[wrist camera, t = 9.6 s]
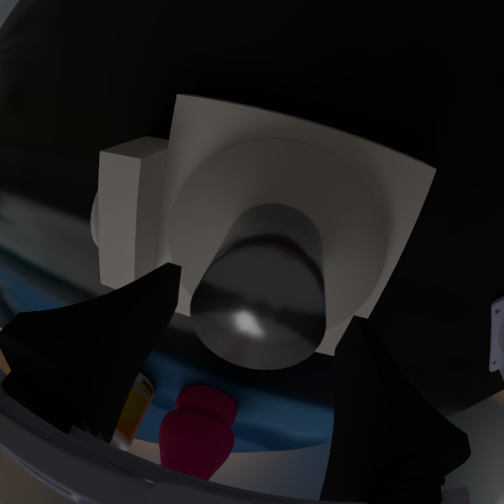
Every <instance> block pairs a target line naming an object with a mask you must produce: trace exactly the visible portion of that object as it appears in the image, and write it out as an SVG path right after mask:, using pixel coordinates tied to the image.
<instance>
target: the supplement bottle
mask: <svg viewBox="0 0 504 504" xmlns="http://www.w3.org/2000/svg"><path fill="white" fill-rule="evenodd" d="M154 394H155V390H154V387H153V385H152V383H151V382H150V380H149V379H148V378H147V377H146V376H145V375H143V374H142V373H140V372H139V374H138V376H137V378H136V380H135V382H134V385H133V387H132V389H131V391H130V394H129V396H128V398H127V401H126V403H125V405H124V408H123V410H122V413H121V415H120V418H119V421H118V423H117V426H116V429H115V432H114V435H113V437H112V440H111V443H110V444H111V445H113V446H115V447H117V448H119V449H122V450H124V451H126V450H127V449H129V447H130V446H131V444H132V441H133V439H134V437H135V435H136V433H137V431H138V429H139V427H140V425H141V422H142V420H143V418H144V416H145V414H146V412H147V410H148V408H149V405H150V403H151V401H152V399H153V397H154Z"/></svg>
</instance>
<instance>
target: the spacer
mask: <svg viewBox="0 0 504 504" xmlns="http://www.w3.org/2000/svg"><path fill="white" fill-rule="evenodd" d="M190 318H191V322H192V325H193V327H194V330H195V331H196V333H197V335H198V337H199V338H200V339H201V341H202V342H203V343H204V344H205V345H206V346H207V347H208V348H209V349H210V350H211V351H213V352H214V353H215V354H217V355H218V356H220V357H221V358H223V359H225V360H227V361H229V362H231V363H233V364H236V365H239V366H243V367H247V368H252V369H260V370H273V369H281V368H285V367H289V366H292V365H295V364H297V363H299V362H301V361H303V360H305V359H306V358H308V357H309V356H310V355H311V354H313V352H314V351H315V350H316V349H317V348H318V347H319V345H320V344H321V342H322V340H323V338H324V335H325V331H326V300H325V281H324V265H323V250H322V241H321V237H320V234H319V232H318V229H317V228H316V226H315V224H314V223H313V222H312V221H311V220H310V219H309V218H308V217H307V216H306V215H305V214H304V213H302V212H301V211H299V210H297V209H295V208H293V207H290V206H287V205H283V204H277V203H268V204H261V205H258V206H255V207H252V208H250V209H248V210H247V211H245V212H244V213H242V214H241V215H240V216H239V217H238V218H237V219H236V220H235V222H234V223H233V225H232V227H231V228H230V230H229V232H228V233H227V235H226V237H225V239H224V240H223V242H222V244H221V246H220V247H219V249H218V251H217V252H216V254H215V256H214V258H213V259H212V261H211V263H210V265H209V266H208V268H207V270H206V272H205V273H204V275H203V277H202V279H201V281H200V282H199V284H198V286H197V288H196V289H195V291H194V294H193V296H192V299H191V303H190Z"/></svg>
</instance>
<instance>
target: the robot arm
mask: <svg viewBox="0 0 504 504" xmlns="http://www.w3.org/2000/svg"><path fill="white" fill-rule="evenodd" d="M181 270H182V266H180V265H176V264H173V263H170V262H167V263H165V264H164V265H162V266H160V267H158V268H156V269H155V270H153V271H151V272H149V273H147V274H146V275H144V276H142V277H140V278H138V279H137V280H135V281H133V282H131V283H129V284H127V285H125V286H123V287H121V288H118V289H116V290H114V291H112V292H110V293H107V294H105V295H102V296H100V297H97V298H94V299H91V300H88V301H85V302H81V303H77V304H74V305H70V306H66V307H61V308H56V309H50V310H43V311H33V312H19V313H18V314H17V315H16V316H15V317H14V318H13V319H12V320H11V321H10V322H9V323H8V324H7V325H6V326H5V327H4V328H3V329H2V330H1V331H0V349H1V351H2V353H3V355H4V357H5V359H6V361H7V363H8V365H9V367H10V369H11V372H10V373H9V374H8V375H6V374H5V373H4V372H3V371H2V370H1V369H0V450H1V451H2V452H3V453H5V454H6V455H7V456H8V457H9V458H11V459H12V460H13V461H14V462H16V463H17V464H19V465H20V466H21V467H22V468H24V469H25V470H26V471H28V472H29V473H30V474H32V475H33V476H35V477H36V478H37V479H39V480H40V481H42V482H43V483H45V484H46V485H48V486H49V487H51V488H52V489H54V490H55V491H57V492H59V493H60V494H62V495H63V496H65V497H67V498H68V499H70V500H72V501H73V502H75V503H77V504H470V500H469V492H468V487H462V488H456V489H450V490H446V491H443V492H441V486H443V485H444V484H445V478H444V476H445V475H447V474H449V473H450V472H452V471H453V470H455V469H456V468H458V467H459V466H461V465H462V464H463V463H464V462H466V460H467V459H468V458H469V456H470V454H471V450H470V445H469V440H468V436H467V434H466V433H464V432H463V431H462V430H460V429H459V428H457V427H456V426H454V425H453V424H452V423H450V422H449V421H448V420H447V419H446V418H444V417H443V416H442V415H441V414H440V413H438V412H437V411H436V410H435V409H434V408H433V407H432V406H431V405H430V404H429V403H428V402H427V401H426V400H425V399H424V398H423V397H422V396H421V395H420V394H419V392H418V391H417V390H416V389H415V388H414V387H413V385H412V384H411V383H410V382H409V381H408V379H407V378H406V377H405V375H404V374H403V373H402V371H401V370H400V369H399V367H398V366H397V364H396V363H395V361H394V360H393V358H392V357H391V355H390V354H389V352H388V351H387V349H386V348H385V346H384V344H383V343H382V341H381V339H380V338H379V336H378V335H377V333H376V331H375V330H374V328H373V327H372V325H371V323H370V322H369V321H368V319H367V318H364V317H360V316H356V315H354V316H353V317H352V319H351V321H350V323H349V325H348V327H347V328H346V330H345V332H344V334H343V335H342V337H341V339H340V341H339V342H338V344H337V346H336V348H335V352H334V362H333V391H334V426H333V435H332V443H331V449H330V455H329V461H328V467H327V471H326V475H325V480H324V484H323V488H322V491H321V495H320V499H319V500H307V499H299V498H291V497H283V496H277V495H270V494H265V493H259V492H254V491H249V490H244V489H239V488H235V487H231V486H226V485H222V484H219V483H215V482H211V481H207V480H204V479H200V478H197V477H194V476H190V475H187V474H184V473H181V472H178V471H175V470H172V469H169V468H166V467H164V466H161V465H158V464H155V463H153V462H150V461H148V460H145V459H143V458H140V457H137V456H135V455H133V454H130V453H128V452H126V451H124V450H122V449H119V448H117V447H115V446H113V445H111V444H110V443H111V440H112V437H113V435H114V432H115V429H116V426H117V423H118V421H119V418H120V415H121V413H122V410H123V408H124V405H125V403H126V401H127V398H128V396H129V394H130V391H131V389H132V387H133V385H134V382H135V380H136V378H137V376H138V374H139V372H140V370H141V368H142V366H143V364H144V362H145V361H146V359H147V358H148V356H149V354H150V353H151V351H152V350H153V348H154V347H155V345H156V343H157V342H158V340H159V339H160V337H161V336H162V334H163V332H164V331H165V329H166V328H167V326H168V324H169V323H170V320H171V318H172V316H173V314H174V312H175V310H176V308H177V305H178V298H179V288H180V279H181ZM489 369H490V371H491V372H492V371H495V370H497V369H499V370H500V372H501V375H502V377H503V379H504V296H502V297H500V298H499V299H497V300H495V301H494V302H493V303H492V305H491V348H490V363H489Z"/></svg>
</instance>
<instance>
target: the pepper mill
mask: <svg viewBox="0 0 504 504" xmlns="http://www.w3.org/2000/svg"><path fill="white" fill-rule="evenodd" d="M175 408H176V410H173V411H171V412H169V413H168V414H167V415H166V416H165V417H164V418H163V420H162V423H161V426H160V430H159V448H160V459H161V466H164V467H166V468H169V469H172V470H175V471H178V472H181V473H184V474H187V475H190V476H194V477H197V478H200V479H204V480H207V481H208V480H209V479H210V477H211V476H212V475H213V474H214V473H215V472H216V471H217V470H218V469H219V468H220V467H221V465H222V464H223V463H224V462H225V461H226V459H227V458H228V456H229V455H230V453H231V451H232V448H233V445H234V439H235V438H234V434H233V432H232V430H231V428H230V427H231V426H232V425H233V424H234V421H235V417H236V414H237V405H236V403H235V401H234V400H233V399H232V398H231V397H230V396H229V395H227V394H226V393H224V392H222V391H220V390H218V389H216V388H213V387H209V386H204V385H189V386H186V387H184V388H183V389H182V390H181V391H180V393H179V395H178V398H177V400H176V402H175Z"/></svg>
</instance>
